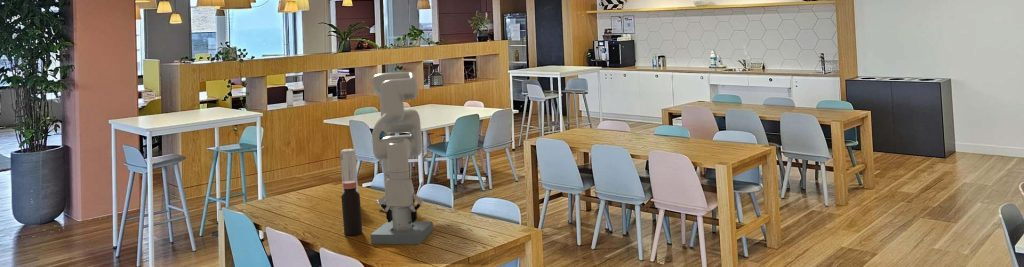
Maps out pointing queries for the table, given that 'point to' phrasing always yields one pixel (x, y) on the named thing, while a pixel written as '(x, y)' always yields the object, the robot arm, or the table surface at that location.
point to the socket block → (402, 233)
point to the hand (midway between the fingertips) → (401, 221)
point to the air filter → (348, 166)
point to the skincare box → (401, 218)
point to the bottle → (351, 209)
